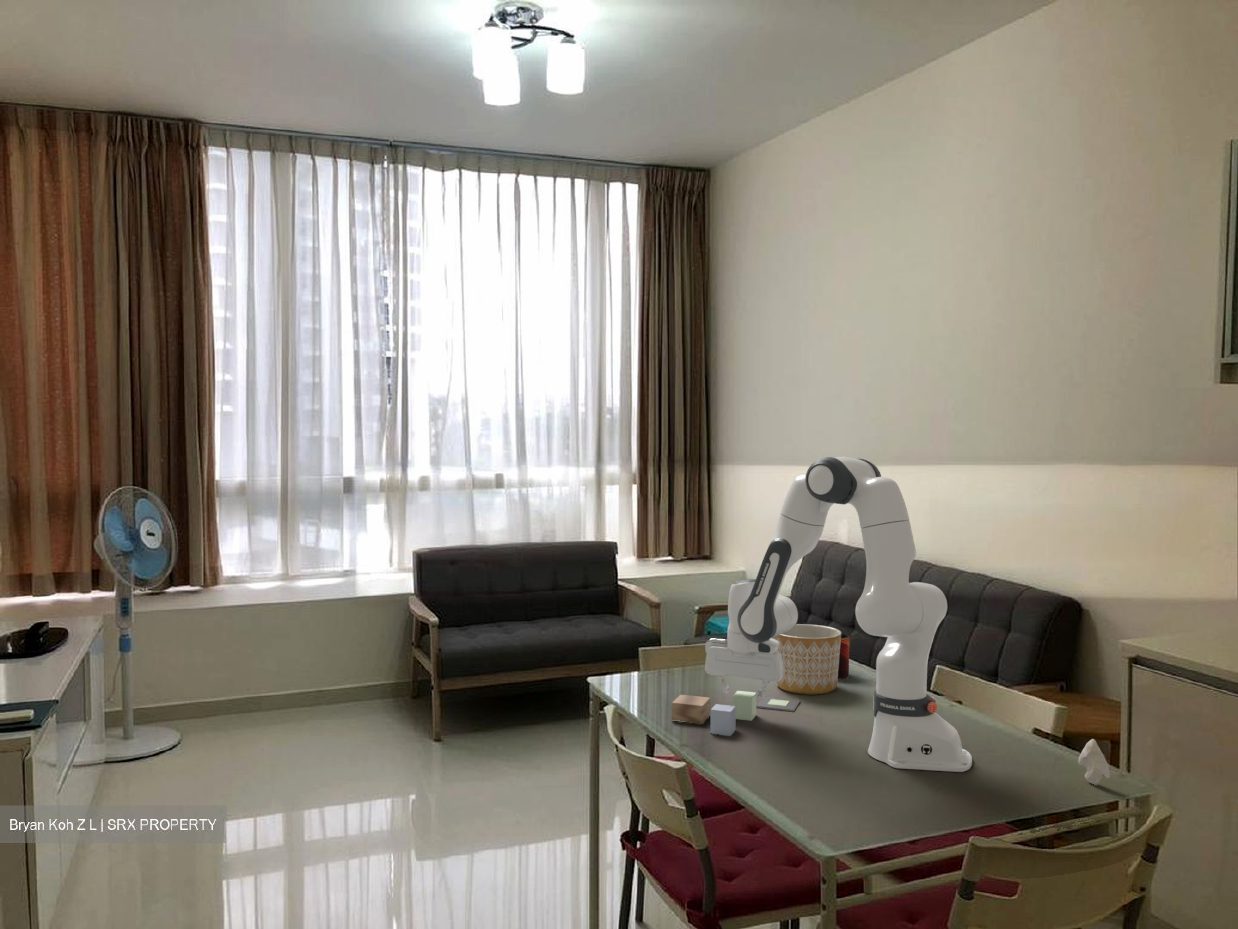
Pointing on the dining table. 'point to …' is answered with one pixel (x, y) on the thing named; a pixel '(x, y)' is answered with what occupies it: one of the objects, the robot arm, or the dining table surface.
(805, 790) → the dining table surface
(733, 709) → the slate block
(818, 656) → the planter
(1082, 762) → the arrowhead
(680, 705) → the walnut base
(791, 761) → the dining table surface
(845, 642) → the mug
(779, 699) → the card
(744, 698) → the sage block
